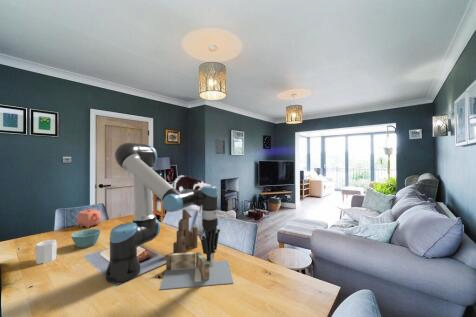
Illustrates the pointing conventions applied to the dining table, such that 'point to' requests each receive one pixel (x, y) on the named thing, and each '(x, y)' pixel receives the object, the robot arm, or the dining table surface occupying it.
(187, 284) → the card
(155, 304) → the dining table surface
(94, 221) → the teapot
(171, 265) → the beige wooden panel
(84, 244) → the bowl
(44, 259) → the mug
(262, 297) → the dining table surface
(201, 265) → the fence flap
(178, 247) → the wooden toy
